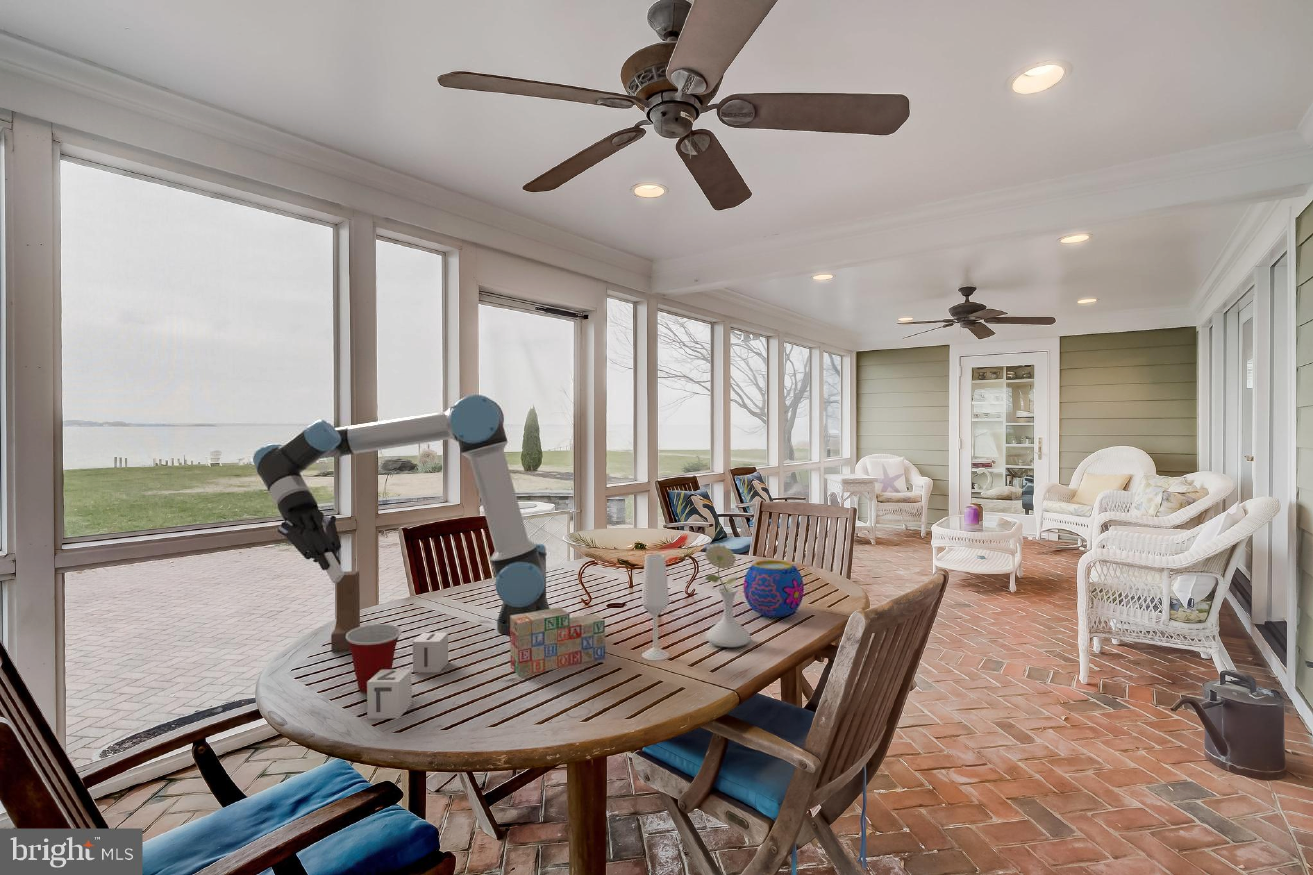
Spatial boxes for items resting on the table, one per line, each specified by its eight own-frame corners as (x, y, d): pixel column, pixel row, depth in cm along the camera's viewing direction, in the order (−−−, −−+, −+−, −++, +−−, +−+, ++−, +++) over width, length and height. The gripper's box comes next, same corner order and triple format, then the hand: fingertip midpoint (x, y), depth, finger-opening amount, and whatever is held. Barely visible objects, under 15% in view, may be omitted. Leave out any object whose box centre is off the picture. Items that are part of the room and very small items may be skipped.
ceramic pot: (812, 611, 181) (811, 561, 181) (793, 628, 166) (792, 573, 166) (757, 603, 190) (756, 555, 190) (734, 618, 175) (733, 566, 175)
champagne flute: (655, 648, 151) (655, 552, 151) (675, 654, 147) (674, 556, 146) (636, 655, 147) (635, 556, 146) (655, 662, 142) (654, 560, 142)
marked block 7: (411, 704, 121) (411, 668, 121) (398, 718, 115) (398, 681, 115) (381, 704, 121) (381, 668, 121) (367, 719, 115) (366, 681, 115)
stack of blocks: (594, 650, 150) (594, 601, 150) (605, 658, 145) (605, 607, 145) (509, 667, 140) (509, 614, 140) (518, 677, 134) (517, 621, 134)
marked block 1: (448, 662, 143) (448, 631, 143) (439, 672, 137) (438, 641, 137) (422, 662, 143) (422, 632, 143) (412, 672, 137) (412, 641, 137)
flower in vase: (759, 642, 155) (759, 545, 154) (733, 655, 146) (732, 551, 146) (718, 631, 163) (718, 539, 163) (691, 642, 155) (691, 545, 155)
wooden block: (350, 650, 151) (349, 578, 151) (330, 652, 150) (330, 579, 150) (360, 638, 160) (359, 570, 160) (341, 639, 159) (341, 571, 159)
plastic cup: (365, 703, 122) (364, 643, 121) (335, 690, 127) (334, 633, 127) (412, 683, 131) (412, 628, 130) (383, 673, 137) (382, 620, 136)
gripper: (314, 507, 150) (358, 582, 142) (258, 513, 138) (302, 596, 130) (327, 486, 147) (372, 562, 139) (271, 491, 136) (317, 574, 128)
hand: (338, 578), depth 135 cm, fingers closed
